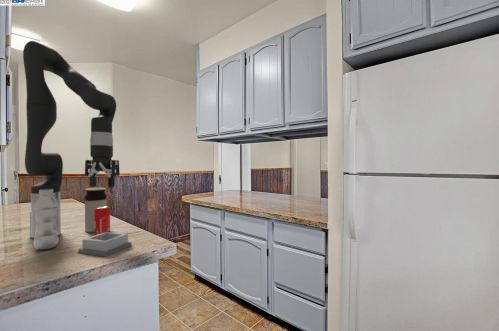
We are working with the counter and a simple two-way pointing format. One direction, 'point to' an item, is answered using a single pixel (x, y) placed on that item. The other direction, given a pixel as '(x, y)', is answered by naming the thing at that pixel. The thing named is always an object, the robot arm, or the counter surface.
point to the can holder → (105, 244)
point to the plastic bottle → (46, 220)
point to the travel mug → (93, 205)
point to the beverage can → (102, 219)
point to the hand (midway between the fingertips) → (102, 187)
